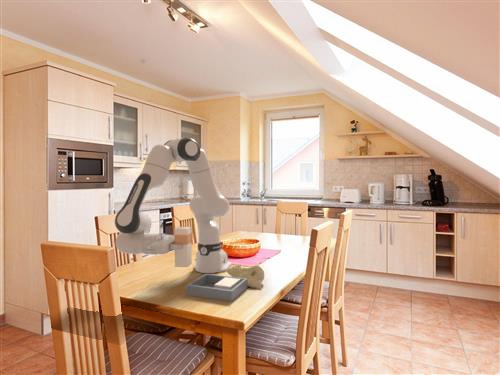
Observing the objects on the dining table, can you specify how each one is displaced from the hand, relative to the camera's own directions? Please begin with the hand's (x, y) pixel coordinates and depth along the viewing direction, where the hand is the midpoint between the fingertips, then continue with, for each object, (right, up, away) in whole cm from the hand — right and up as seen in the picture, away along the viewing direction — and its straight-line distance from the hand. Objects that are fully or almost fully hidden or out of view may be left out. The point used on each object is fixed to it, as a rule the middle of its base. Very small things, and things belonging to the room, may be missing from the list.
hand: (185, 244), depth 133 cm
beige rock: (+25, -20, +5) cm, 32 cm away
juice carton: (-1, -9, 0) cm, 9 cm away
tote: (+14, -20, -3) cm, 24 cm away
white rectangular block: (+18, -19, -5) cm, 27 cm away
